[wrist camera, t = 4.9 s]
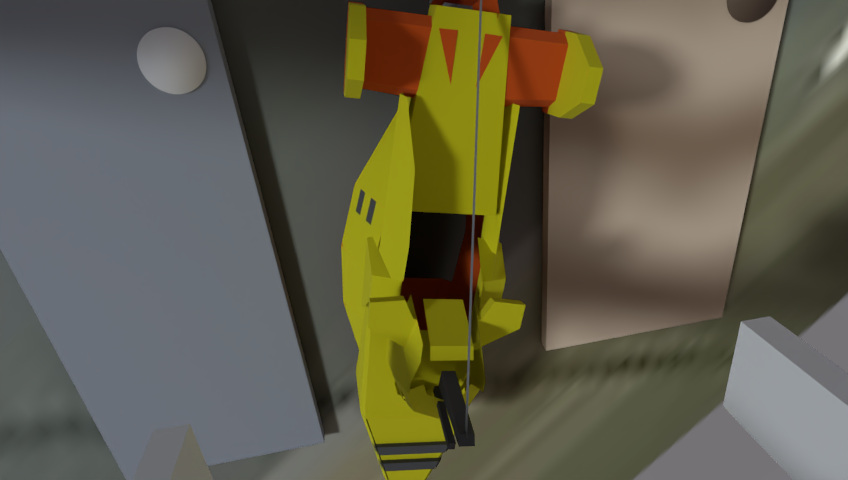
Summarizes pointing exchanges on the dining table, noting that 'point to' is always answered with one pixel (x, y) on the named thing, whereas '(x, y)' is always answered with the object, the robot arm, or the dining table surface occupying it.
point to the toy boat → (441, 207)
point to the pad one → (147, 227)
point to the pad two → (653, 164)
